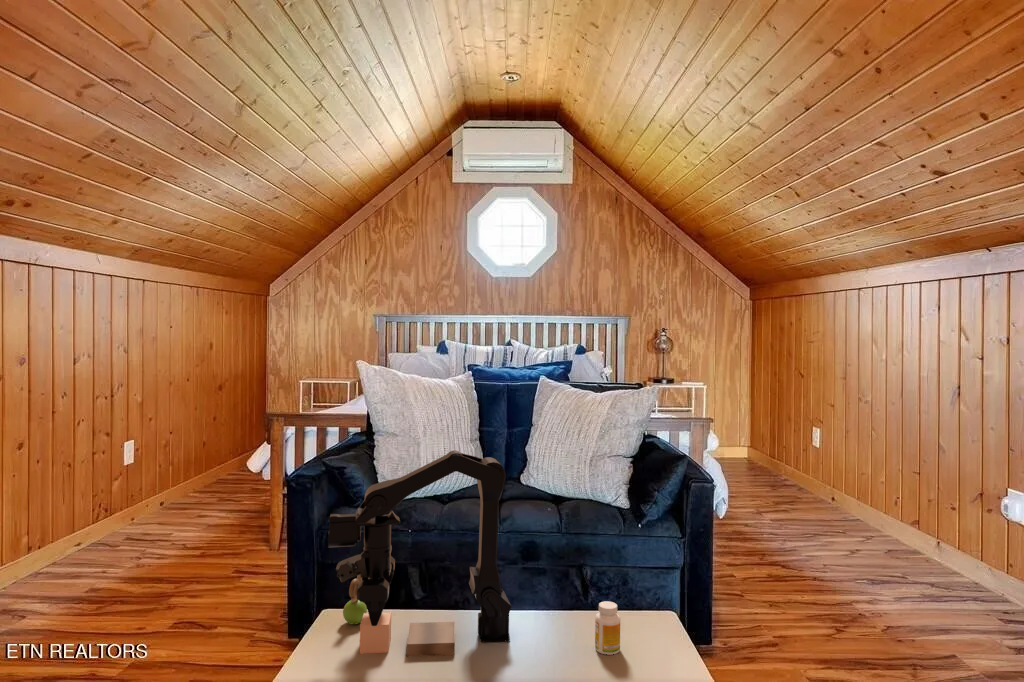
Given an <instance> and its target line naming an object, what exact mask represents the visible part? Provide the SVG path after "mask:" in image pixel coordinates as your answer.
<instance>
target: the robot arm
mask: <svg viewBox="0 0 1024 682" xmlns="http://www.w3.org/2000/svg"><path fill="white" fill-rule="evenodd" d="M456 472H457V473H460V474H463V475H465V476H467V477H470V478H473V479H474V480H476V481H477V487H478V492H479V497H480V505H479V527H478V528H479V531H478V532H479V533H478V557H477V563H476V564H475V565H476V566H469V572H470V579H469V581H468V584H469V587H470V590H471V593H472V595H473V596H475V600H476V602H477V604H478V605H480V612H478V613H477V634H478V636H479V639H480V642H482V643H491V642H493V643H494V642H497V643H498V642H510V641H511V637H510V612H511V609H512V605H511V603H510V600H509V599H508V597H507V595H506V593H505V591H504V590H503V589H502V587H501V580H500V575H499V570H498V565H497V559H498V558H497V556H498V529H499V528H498V527H499V526H498V524H499V505H500V504H499V501H500V499H501V497H502V493H503V491H504V487H505V482H506V476H507V475H506V474H507V473H506V469H505V468H504V467H503V465H502V464H501V463H500V462H499V461H498V460H497V459H496V458H494V457H489V456H487V457H484V458H482V457H478V456H474V455H472V454H466V453H462V452H460V451H458V450H451V451H449V452H448V453H447V454H445V455H443V456H440V457H439V458H437V459H435V460H432V461H431V462H428V463H427V464H425V465H423V466H421V467H419V468H417V469H414V470H413V471H411V472H409V473H407V474H405V475H403V476H401V477H398V478H392V479H388V480H384V481H380V482H378V483H374V484H372V485H370V486H369V487H368V488H367V489H366V491H365V494H364V500H363V501H362V502H361V504H360V505H359V507H357V509H356V510H355V513H346V514H344V513H343V514H339V513H330V516H329V525H328V529H329V530H328V534H327V548H345V547H356V545H357V544H358V542H361V541H362V527H363V548H362V550H363V551H362V552H361V553H360V554H355V555H353V556H350V557H348V558H345V559H343V560H341V561H339V562H338V563H337V564H336V568H335V571H336V578H339V580H340V583H344V582H347V580H349V579H352V578H355V577H357V576H358V575H360V574H361V578H362V582H361V583H360V584H359V586H358V589H357V600H359V601H360V602H363V603H365V605H366V607H367V613H369V617H370V621H371V625H372V626H377V624H378V621H379V619H380V616H381V614H382V613H383V611H384V610H385V606H386V604H387V602H388V599H389V595H390V585H391V583H392V580H393V577H394V573H395V567H396V564H395V563H396V559H395V557H393V556H392V555H391V553H392V550H393V548H392V547H393V546H392V545H393V544H392V526H393V525H399V524H401V520H400V517H399V516H398V515H397V514H395V512H394V511H393V509H394V508H396V507H397V506H398V505H399V504H400V503H402V501H404V499H406V498H408V497H409V496H410V495H412V494H414V493H416V492H417V491H420V490H421V489H424V488H425V487H427V486H430V485H432V484H434V483H435V482H438V481H439V480H441V479H444V478H445V477H447V476H449V475H451V474H453V473H456ZM387 513H388V514H387ZM363 578H364V579H363ZM365 578H367V579H365Z"/></svg>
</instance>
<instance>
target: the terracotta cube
mask: <svg viewBox="0 0 1024 682" xmlns="http://www.w3.org/2000/svg"><path fill="white" fill-rule="evenodd" d="M391 640H392V612H382V614H381V616H380V619H379V621H378V624H377V626H372V625H371V621H370V617H369V613H368V612H367V613H364V614H363V618H362V621H361V622H360V623H359V654H376V653H377V654H380V653H381V654H382V653H383V654H384V653H389V651H390V646H391V642H392V641H391Z"/></svg>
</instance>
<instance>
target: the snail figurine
mask: <svg viewBox="0 0 1024 682" xmlns="http://www.w3.org/2000/svg"><path fill="white" fill-rule="evenodd" d="M362 581H363V578H361V574H360V575H358V576H356V578H354V579H352V580H351V582H350V585H349V589H348V595H349V597H350V598H351V599H350V600H349V601H347V603H345V605H344V607H343V609H342V614H343V615H342V616H343V619H344V620H345V621H346V622H347V623H349V624H351V625H358V624H361V621H362V618H363V614H364V613H368V609H367V606H366V604H365V603H363V602H360V601H359V600H357V589H358V586H359V584H360V583H361V582H362Z"/></svg>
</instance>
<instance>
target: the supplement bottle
mask: <svg viewBox="0 0 1024 682" xmlns="http://www.w3.org/2000/svg"><path fill="white" fill-rule="evenodd" d="M594 618H595V619H594V620H595V621H594V622H595V625H594V626H595V627H594V648H595V651H597V652H598V653H600V654H602V655H606V654H607V656H610V655H611V656H613V654H614V655H617V654H618V653H619V652H620V651H621V616H620V615H619V614H618V604H617V603H615V602H613V601H610V600H609V601H608V600H607V601H601V602H599V603H598V612H597V613H596V614H595V617H594Z"/></svg>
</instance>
